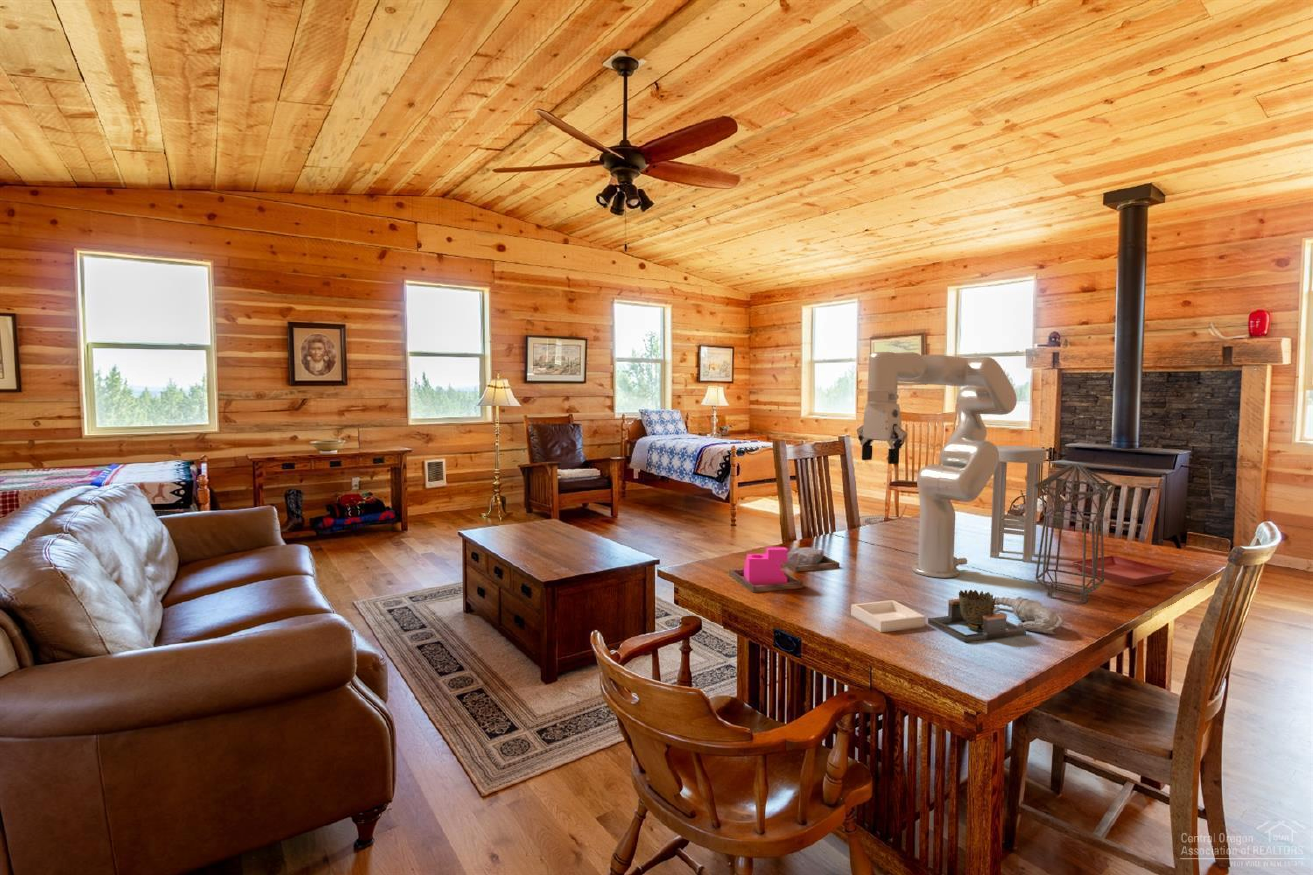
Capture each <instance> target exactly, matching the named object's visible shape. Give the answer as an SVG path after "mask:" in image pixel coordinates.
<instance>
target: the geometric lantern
mask: <svg viewBox="0 0 1313 875" xmlns="http://www.w3.org/2000/svg"><path fill="white" fill-rule="evenodd" d="M1066 473H1067V475H1066V477H1064V479H1063V478H1061V477H1062V476H1064V475H1065V474H1066ZM1072 473H1073V474H1072ZM1080 473H1081V474H1082V476H1083V478H1084V479H1085V481H1080ZM1071 475H1072V480H1071V481H1070V480H1068V479H1069V477H1070V476H1071ZM1099 479H1100V480H1101V481H1102V482H1101V481H1099ZM1054 481H1056V482H1057V483H1059V484H1060V485H1059V486H1058V487H1052V486H1051V483H1053V482H1054ZM1066 483H1067V484H1071V487H1070V486H1069V485H1067V484H1066ZM1080 484H1082V485H1089V487H1088V490H1087V491H1078V490H1079V486H1080ZM1075 485H1076V488H1075ZM1034 486H1035V487H1037V488H1038V492H1040V495H1041V502H1042V503H1041V505H1042V516H1044V517H1043V524H1042V531H1041V537H1040V543H1039V544H1040V545H1039V551H1038V557H1037V558H1038V559H1037V565H1036V571H1035V578H1034V579H1035V580H1036V581H1037V582H1038V583H1039V585H1041V586H1042V587H1044V588H1045V589H1046V591H1047V594H1046V595H1045V596H1046V597H1047V598H1051V599H1057V600H1061V601H1067V602H1072V603H1077V604H1085V603H1086V602H1087V601H1088V599H1089V596H1090V593H1092V592H1095V591H1096V590H1097V589H1098V588H1099V587H1100V586H1102V585H1103V583H1105V579H1104V555H1105V554H1104V549H1105V548H1104V517H1103V516H1104V511H1105V508H1106V505H1107V503H1108V501H1109V499H1110V497H1111V495H1112V493H1113V492H1114V490H1115V488H1116V484H1115V483H1113V482H1111V481H1110V480H1108V479H1106V478H1104V477H1103V476H1100V475H1099V474H1097V473H1095V472H1093V471H1091V470H1090V469H1088V468H1086V467H1084V466H1083V465H1081V464H1079V463H1070V464H1068V465H1067V466H1065V467H1063V468H1062V469H1060V470H1058V471H1056V472H1055V473H1053V474H1051V475H1050V476H1048V477H1046V478H1045V479H1044V478H1043V480H1040V481H1038V483H1037V484H1035V485H1034ZM1063 486H1064V487H1065V488H1067V489H1068V490H1070V491H1065V490H1061V489H1062V488H1063ZM1108 487H1110V488H1108ZM1074 488H1075V489H1074ZM1091 488H1092V489H1093V490H1094V491H1091ZM1051 490H1053V491H1056V494H1055V495H1056V496H1055V495H1054V494H1053V493H1052V492H1050V491H1051ZM1059 493H1061V494H1066V495H1067V494H1068V496H1069V497H1068V498H1067V500H1061V499H1060V498H1059ZM1100 494H1102V502H1101V506H1100V507H1099V508H1098V506H1097V504H1096V502H1095V500H1094V499H1093V497H1094V496H1096V495H1100ZM1075 495H1080V496H1081V497H1079V498H1076V499H1073V500H1072V498H1073V497H1074V496H1075ZM1044 496H1050V498H1051V500H1052V502H1053V504H1054V506H1055V507H1054V508H1051V509H1049V510H1048V511H1046V507H1045V497H1044ZM1088 498H1090V499H1091V502H1092V503H1093V505H1094V507H1095V509H1096V510H1097V512H1089V511H1080V510H1079V509H1078V508H1079V507H1077V505H1076V504H1075V503H1077V502H1079V501H1083V500H1084V499H1088ZM1055 500H1056V501H1057V503H1058V504H1057V503H1056V501H1055ZM1061 504H1063V505H1062V506H1061V507H1060V508H1059V506H1060V505H1061ZM1068 504H1072V506H1073V507H1074V510H1073V509H1066V508H1065V507H1066V506H1067V505H1068ZM1064 511H1065V512H1073V513H1077V514H1078V516H1080V520H1079V519H1075V518H1066V517H1064ZM1057 512H1060V516H1056V515H1057ZM1048 513H1050V514H1048ZM1083 514H1089V515H1095V517H1094V518H1093V520H1086V519H1085V518H1084V516H1083ZM1050 518H1051V519H1052V520H1051V521H1052V522H1051V528H1050V529H1051V530H1050V538H1049V537H1048V536H1049V523H1050V522H1049V521H1050ZM1056 519H1059V520H1060V522H1059V531H1058V539H1057V540H1058V542H1057V552H1056V562H1055V569H1051V568H1049V567H1050V560H1051V553H1052V545H1053V538H1054V530H1055V524H1056V523H1055V522H1056ZM1081 519H1082V520H1081ZM1063 520H1065V521H1066V520H1067V521H1074V522H1079V523H1083V542H1082V543H1083V545H1082V546H1083V547H1082V553H1083V554H1082V560H1083V573H1078V572H1073V571H1068V570H1067V571H1066V570H1060V569H1059V562H1060V554H1061V553H1060V552H1061V551H1060V550H1061V542H1062V531H1063V530H1062V529H1063ZM1095 523H1096V524H1095ZM1087 524H1091V542H1092V543H1091V550H1092V551H1091V552H1092V553H1091V559H1092V575H1090V574H1086V573H1085V561H1086V557H1087V556H1086V553H1087ZM1095 525H1096V526H1095ZM1095 528H1096V530H1095ZM1095 531H1096V532H1095ZM1095 534H1096V535H1095ZM1048 538H1049V544H1048ZM1099 539H1100V557H1101V569H1102V578H1100V577H1097V560H1098V557H1099ZM1043 544H1044V546H1043ZM1043 547H1044V548H1043ZM1047 549H1048V552H1047ZM1043 550H1044V551H1043ZM1042 552H1043V561H1042V562H1043V563H1042V572H1041V573H1040V574H1039V572H1040V566H1041V565H1040V564H1041V557H1042ZM1049 572H1054V579H1053V578H1052V575H1051V574H1050V573H1049ZM1057 572H1058V573H1062V574H1068V575H1074V576H1079V577H1082V582H1081V583H1082V585H1079V584H1072V583H1067V582H1060V581H1058V579H1057ZM1046 574H1047V576H1048V577H1049V579H1050V580H1051V581H1047V580H1045V579H1046ZM1040 578H1041V579H1040ZM1086 578H1089V579H1090V580H1089V582H1088V583H1087V584H1086ZM1096 580H1098V582H1097V583H1096ZM1090 584H1092V586H1090ZM1048 585H1049V586H1048ZM1058 587H1061V588H1066V589H1071V590H1075V591H1070V590H1065V589H1060V588H1058ZM1079 587H1080V588H1079ZM1077 591H1079V592H1077ZM1053 592H1055V593H1060V594H1065V595H1070V596H1076V597H1079V601H1077V600H1073V599H1067V598H1061V597H1057V596H1053ZM1082 597H1083V600H1082Z"/></svg>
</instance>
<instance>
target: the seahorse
mask: <svg viewBox="0 0 1313 875" xmlns="http://www.w3.org/2000/svg"><path fill="white" fill-rule="evenodd" d="M1042 604H1043V603H1042V602H1041V601H1039V600H1035V599H1028V598H1027V597H1026V598H1024V597H1021V596H1018V597H1016V598H1010V597H1005V596H1003V597H1000V596H999V597H996V600H995V606H994V611H993V614H997V613H998V612H1000V611H1001V608H1000V605H1001V606H1007V607H1008V608H1010V607H1011V608H1012V612H1013V614H1014V615H1015V617H1016V618H1017V619H1018V620H1019V621H1020V622H1018V624H1017V626H1019V627H1021V628H1024V629H1026V631H1029V632H1030V631H1032V632H1037V633H1047V634H1052V635H1055V634H1056V633H1055V632H1054V630H1055V629H1057V628H1059V627H1060V625H1062V623H1063V622H1064V621H1063V618H1062V617H1061V616H1060V615H1059V614H1058V613H1057V612H1055V611H1054V610H1053V609H1051V608H1050V607H1046V606H1043V605H1042Z"/></svg>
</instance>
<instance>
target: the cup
mask: <svg viewBox="0 0 1313 875" xmlns="http://www.w3.org/2000/svg"><path fill="white" fill-rule="evenodd" d="M958 597H959V598H958V599H959V601H960V610H961V615H962V617H963V618H964V619H965V620H966V621H965V622H966V628H968V629H970V630H971V631H974V632H983V615H991V614H994V613H993V611H994V606H996V605H995V600H996V598H997V597H996V596H995V597H994V594H991V593H990V592H989V591H988V592H985V593H984V591H983V590H981V591H980V592H978V590H976V589H974V591H973V589H970V590H969V591H968V589H965V590H964V591H963V590H960V591H958Z"/></svg>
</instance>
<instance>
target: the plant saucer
mask: <svg viewBox="0 0 1313 875" xmlns="http://www.w3.org/2000/svg"><path fill="white" fill-rule="evenodd" d="M1071 563H1072V564H1073V566H1074V567H1075V568H1076V569H1077V571H1079V572H1080V573H1081V574H1083V559H1081V560H1074V561H1073V560H1072V561H1071ZM1175 573H1176V570H1173V569H1170V568H1165V567H1161V566H1157V565H1154V564H1153V565H1152V564H1150V563H1145V562H1141V561H1138V560H1137V561H1136V560H1133V559H1128V558H1125V557H1120V556H1116V555H1105V556H1104V580H1108V581H1112V582H1116V583H1118V584H1123V585H1127V586H1130V587H1135V586H1140V585H1144V584H1150V583H1156V582H1161V581H1166V580H1167V579H1168V578H1170V577H1171V576H1172V575H1174V574H1175ZM1085 575H1090V576H1092V558H1087V559H1086V561H1085ZM1096 577H1098V578H1100V579H1102V569H1101V556H1098V560H1097V576H1096Z"/></svg>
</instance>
